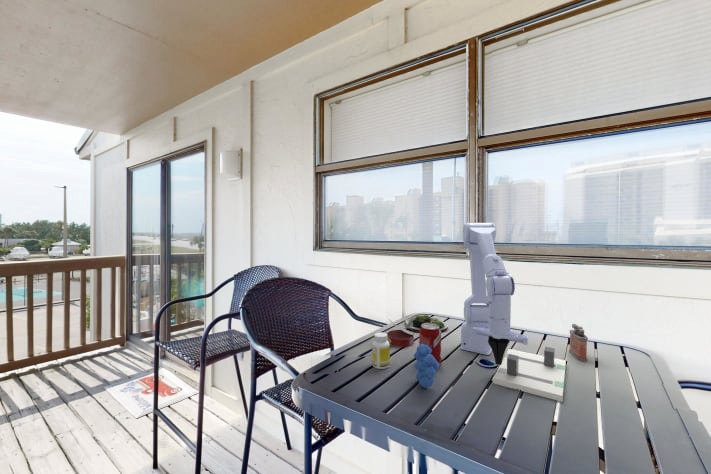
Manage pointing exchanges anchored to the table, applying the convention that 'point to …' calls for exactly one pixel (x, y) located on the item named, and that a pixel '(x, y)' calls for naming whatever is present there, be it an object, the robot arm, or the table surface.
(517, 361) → the handle
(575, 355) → the lighter
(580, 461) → the table surface
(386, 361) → the supplement bottle
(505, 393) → the table surface
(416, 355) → the grapes
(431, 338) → the soda can
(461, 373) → the table surface
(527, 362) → the switch plate
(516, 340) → the robot arm
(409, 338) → the dark red bowl
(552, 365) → the on handle
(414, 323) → the salad plate
